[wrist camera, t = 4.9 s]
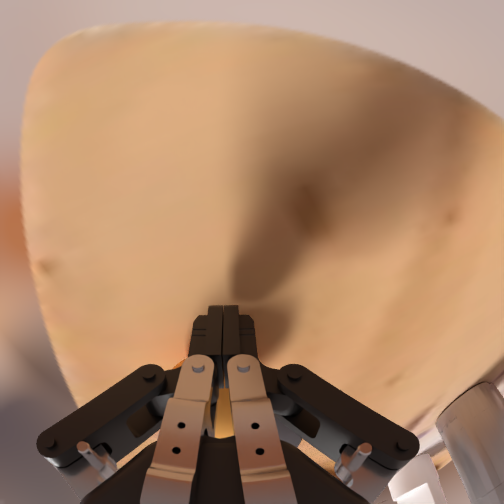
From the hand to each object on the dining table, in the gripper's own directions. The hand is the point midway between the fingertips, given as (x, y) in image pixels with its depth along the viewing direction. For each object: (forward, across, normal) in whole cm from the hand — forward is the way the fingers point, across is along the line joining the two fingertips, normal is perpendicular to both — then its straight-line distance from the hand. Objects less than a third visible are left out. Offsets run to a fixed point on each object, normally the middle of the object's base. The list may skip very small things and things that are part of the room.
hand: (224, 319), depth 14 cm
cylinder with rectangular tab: (+2, -30, +40) cm, 50 cm away
